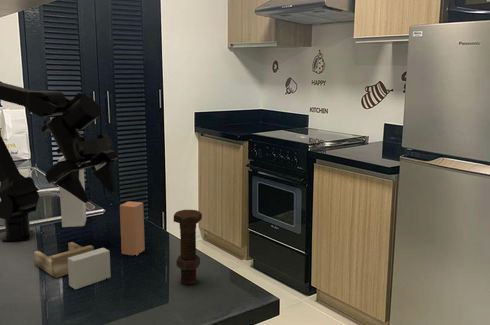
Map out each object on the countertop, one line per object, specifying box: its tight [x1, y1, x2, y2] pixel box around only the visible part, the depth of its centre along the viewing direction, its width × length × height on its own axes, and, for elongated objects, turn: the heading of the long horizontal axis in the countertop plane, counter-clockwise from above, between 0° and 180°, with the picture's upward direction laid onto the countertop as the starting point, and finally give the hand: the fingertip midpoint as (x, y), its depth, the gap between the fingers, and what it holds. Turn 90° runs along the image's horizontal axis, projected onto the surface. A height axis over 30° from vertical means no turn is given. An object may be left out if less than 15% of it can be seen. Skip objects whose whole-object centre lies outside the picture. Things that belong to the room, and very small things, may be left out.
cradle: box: [33, 241, 95, 279], centre depth 106 cm, size 10×9×4 cm
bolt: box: [173, 209, 203, 285], centre depth 98 cm, size 6×5×15 cm
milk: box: [57, 155, 87, 228], centre depth 134 cm, size 6×6×22 cm
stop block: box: [67, 247, 111, 290], centre depth 98 cm, size 2×8×6 cm, turn 137°
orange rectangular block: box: [119, 200, 146, 256], centre depth 114 cm, size 4×4×12 cm
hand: (100, 197), depth 111 cm, fingers open, 9 cm apart
